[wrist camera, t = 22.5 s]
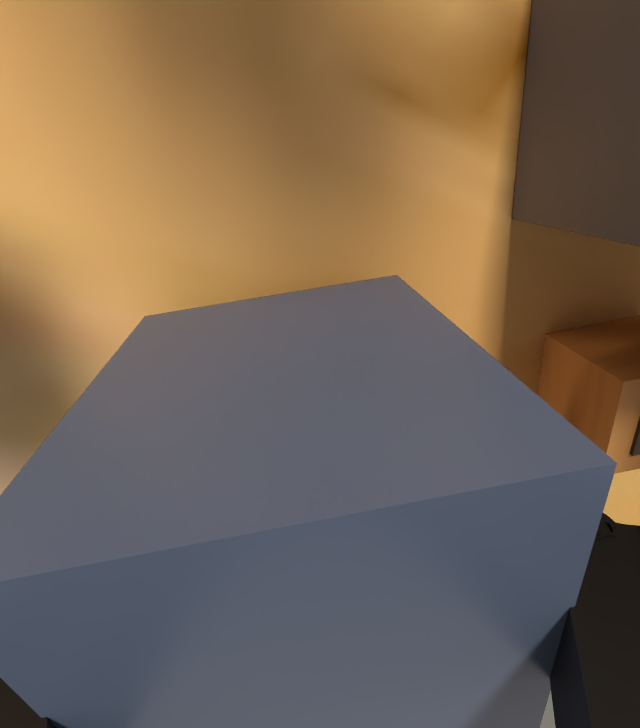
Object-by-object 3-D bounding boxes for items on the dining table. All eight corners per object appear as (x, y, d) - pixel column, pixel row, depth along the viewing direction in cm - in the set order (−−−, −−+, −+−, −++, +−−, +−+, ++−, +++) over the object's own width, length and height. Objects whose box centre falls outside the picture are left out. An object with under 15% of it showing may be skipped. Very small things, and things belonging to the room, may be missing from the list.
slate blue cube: (396, 275, 14) (617, 462, 5) (404, 464, 18) (533, 747, 9) (144, 316, 14) (-82, 597, 5) (211, 500, 18) (156, 831, 9)
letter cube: (638, 315, 18) (749, 359, 14) (618, 396, 20) (709, 457, 16) (544, 333, 18) (627, 384, 14) (534, 414, 20) (603, 479, 16)
